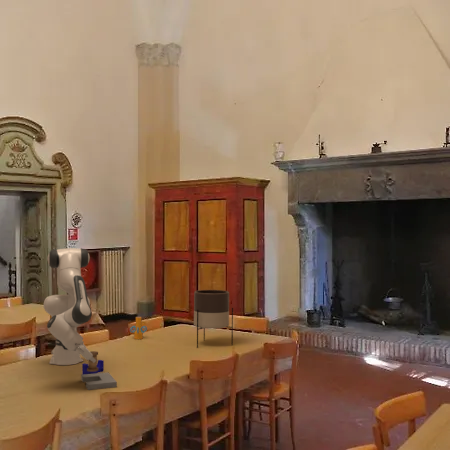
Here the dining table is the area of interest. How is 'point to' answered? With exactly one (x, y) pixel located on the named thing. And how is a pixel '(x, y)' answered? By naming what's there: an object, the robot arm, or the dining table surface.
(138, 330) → the orange post with rings
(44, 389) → the dining table surface
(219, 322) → the planter
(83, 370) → the cable clip
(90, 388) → the notched board
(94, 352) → the bobbin
